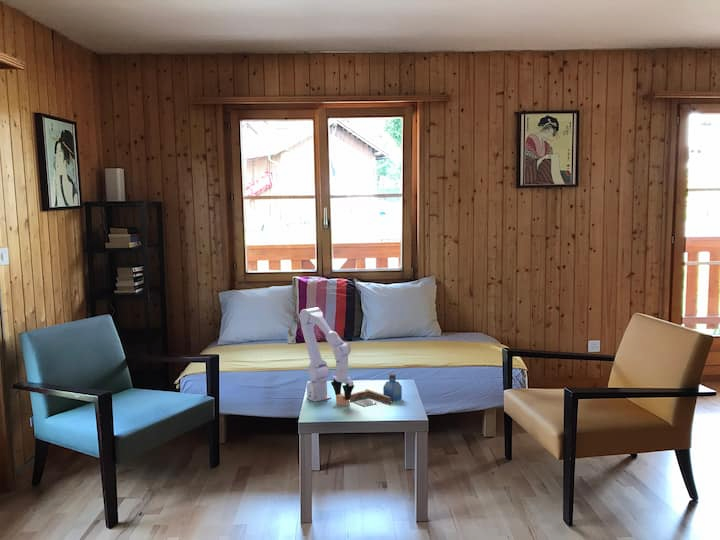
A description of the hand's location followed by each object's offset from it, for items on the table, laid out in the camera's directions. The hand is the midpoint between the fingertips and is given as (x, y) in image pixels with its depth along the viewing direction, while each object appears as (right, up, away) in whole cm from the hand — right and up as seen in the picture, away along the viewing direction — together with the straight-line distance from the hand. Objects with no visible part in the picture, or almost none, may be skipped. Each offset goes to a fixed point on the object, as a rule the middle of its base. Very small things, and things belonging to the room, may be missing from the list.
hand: (342, 397), depth 291 cm
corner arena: (+12, -3, +3) cm, 13 cm away
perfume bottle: (+24, -2, +6) cm, 25 cm away
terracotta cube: (0, -3, 0) cm, 3 cm away
